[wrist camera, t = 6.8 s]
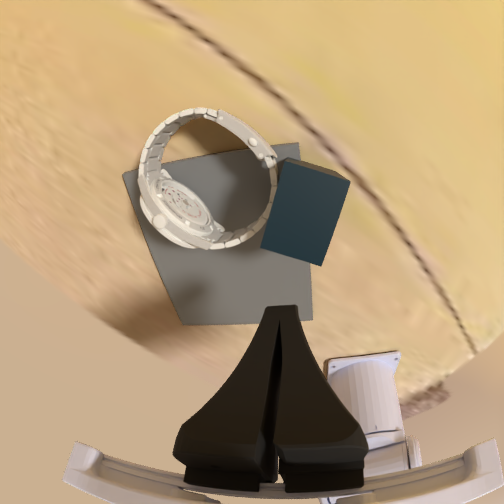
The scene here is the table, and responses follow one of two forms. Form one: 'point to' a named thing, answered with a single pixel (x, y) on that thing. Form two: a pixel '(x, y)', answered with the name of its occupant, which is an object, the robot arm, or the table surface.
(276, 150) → the mat
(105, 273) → the table surface
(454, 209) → the table surface
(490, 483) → the robot arm
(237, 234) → the watch
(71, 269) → the table surface
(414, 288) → the table surface
